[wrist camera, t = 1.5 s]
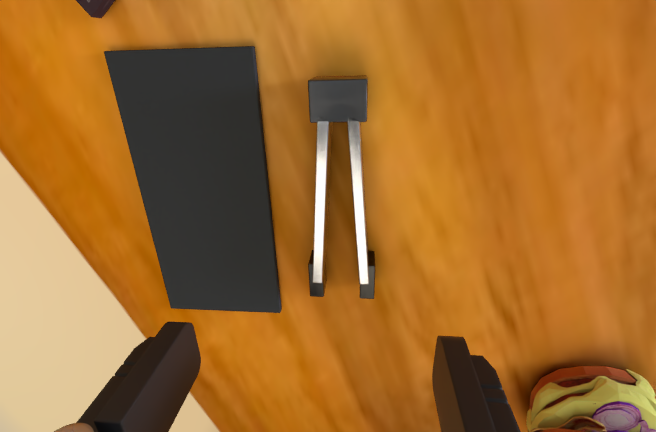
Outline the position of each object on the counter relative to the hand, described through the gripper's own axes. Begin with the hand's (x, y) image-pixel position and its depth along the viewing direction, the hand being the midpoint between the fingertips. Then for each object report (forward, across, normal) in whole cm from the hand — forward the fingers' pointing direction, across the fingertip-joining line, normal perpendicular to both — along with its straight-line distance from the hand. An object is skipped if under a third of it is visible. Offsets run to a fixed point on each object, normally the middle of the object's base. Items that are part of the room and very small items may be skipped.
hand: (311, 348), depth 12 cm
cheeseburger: (+16, -21, +21) cm, 34 cm away
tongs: (+16, 0, +1) cm, 16 cm away
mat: (+16, +10, +1) cm, 19 cm away
